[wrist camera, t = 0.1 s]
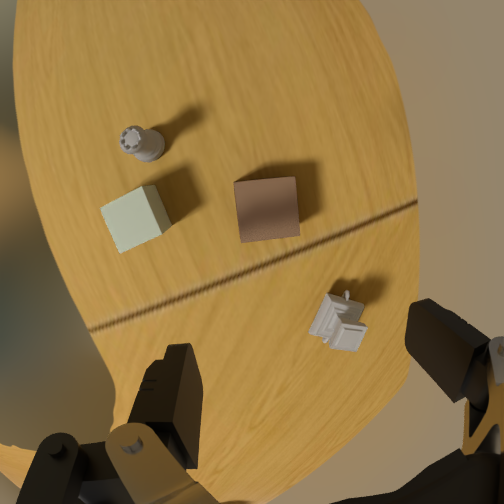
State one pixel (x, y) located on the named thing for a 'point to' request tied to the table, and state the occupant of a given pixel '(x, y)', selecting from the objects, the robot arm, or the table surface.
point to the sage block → (136, 217)
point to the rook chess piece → (142, 143)
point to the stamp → (339, 322)
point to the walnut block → (267, 208)
